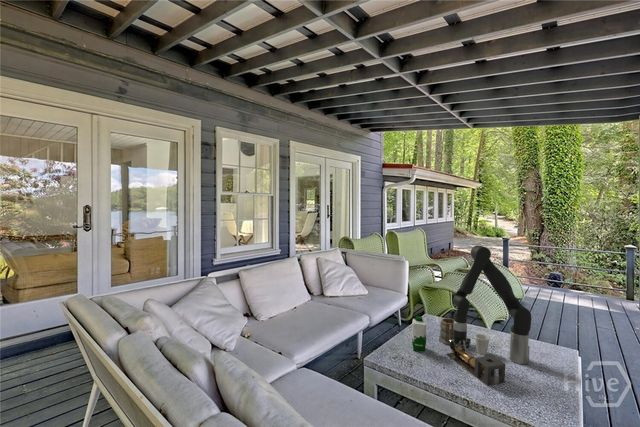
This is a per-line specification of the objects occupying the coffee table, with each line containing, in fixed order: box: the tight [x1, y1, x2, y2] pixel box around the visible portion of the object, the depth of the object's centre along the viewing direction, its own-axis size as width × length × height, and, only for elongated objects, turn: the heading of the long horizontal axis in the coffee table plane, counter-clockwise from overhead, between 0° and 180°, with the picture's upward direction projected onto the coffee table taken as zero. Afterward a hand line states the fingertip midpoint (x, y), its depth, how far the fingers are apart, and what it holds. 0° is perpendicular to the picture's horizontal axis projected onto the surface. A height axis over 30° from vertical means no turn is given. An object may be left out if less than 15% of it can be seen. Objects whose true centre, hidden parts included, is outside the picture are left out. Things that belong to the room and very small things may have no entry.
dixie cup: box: [474, 333, 490, 356], centre depth 203 cm, size 8×8×10 cm
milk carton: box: [411, 315, 428, 353], centre depth 207 cm, size 9×9×20 cm
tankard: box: [438, 317, 454, 346], centre depth 215 cm, size 20×13×15 cm, turn 159°
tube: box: [451, 347, 485, 372], centre depth 189 cm, size 22×5×5 cm, turn 15°
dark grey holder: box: [445, 352, 507, 387], centre depth 184 cm, size 34×12×10 cm, turn 15°
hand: (459, 355), depth 196 cm, fingers closed on tube, 5 cm apart
